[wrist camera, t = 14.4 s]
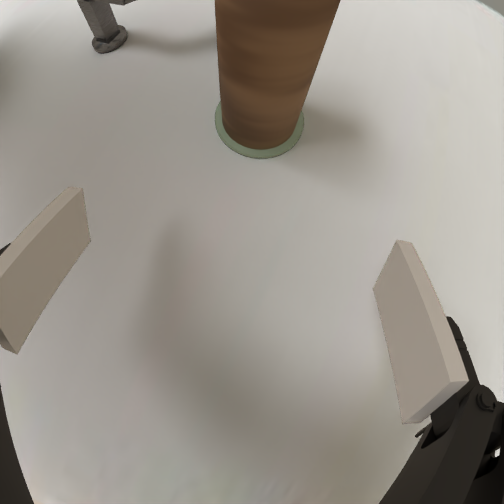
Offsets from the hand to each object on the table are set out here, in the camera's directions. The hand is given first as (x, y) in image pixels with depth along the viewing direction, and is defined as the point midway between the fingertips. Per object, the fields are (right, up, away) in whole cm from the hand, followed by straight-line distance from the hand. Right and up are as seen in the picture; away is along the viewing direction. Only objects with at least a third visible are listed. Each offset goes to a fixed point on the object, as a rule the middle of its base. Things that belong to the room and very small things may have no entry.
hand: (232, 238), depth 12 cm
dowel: (+1, +9, +7) cm, 11 cm away
